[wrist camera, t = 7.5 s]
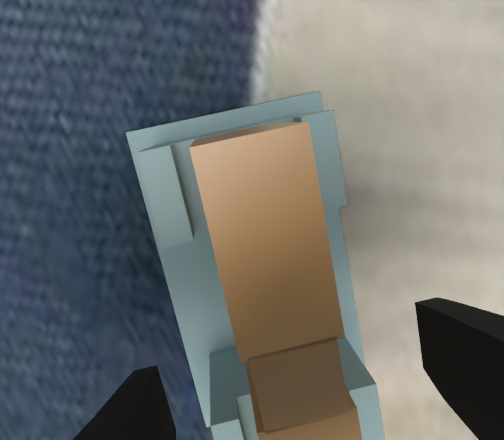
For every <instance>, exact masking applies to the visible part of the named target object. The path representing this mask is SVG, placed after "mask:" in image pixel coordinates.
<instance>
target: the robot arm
mask: <svg viewBox="0 0 504 440" xmlns="http://www.w3.org/2000/svg"><path fill="white" fill-rule="evenodd" d="M415 306H416V313H417V321H418V329H419V337H420V345H421V353H422V361H423V368H424V370H425V371H426V373H427V374H428V376H429V377H430V379H431V381H432V382H433V384H434V385H435V387H436V388H437V390H438V391H439V393H440V394H441V396H442V397H443V398H444V400H445V401H446V402H447V403H448V404H449V406H450V407H451V408H452V409H453V410H454V411H455V413H456V414H457V415H458V416H459V417H460V419H461V420H462V421H463V422H464V423H465V424H466V425H467V427H468V428H469V429H470V430H471V431H472V432H473V433H474V435H475V436H476V437H477V438H478V439H479V440H504V316H502V315H498V314H495V313H492V312H488V311H485V310H482V309H478V308H475V307H472V306H468V305H465V304H461V303H458V302H454V301H451V300H447V299H442V298H432V299H428V300H424V301H420V302H416V303H415ZM73 440H176V429H175V425H174V422H173V418H172V415H171V412H170V408H169V405H168V401H167V398H166V395H165V391H164V388H163V384H162V381H161V378H160V374H159V371H158V368H157V365H156V366H152V367H148V368H143V369H139V370H135V371H134V372H133V373H132V374H131V375H130V376H129V377H128V378H127V379H126V380H125V381H124V382H123V384H122V385H121V386H120V387H119V388H118V390H117V391H116V392H115V393H114V394H113V395H112V397H111V398H110V399H109V400H108V401H107V402H106V404H105V405H104V406H103V407H102V408H101V409H100V411H99V412H98V413H97V414H96V415H95V416H94V418H93V419H92V420H91V421H90V422H89V423H88V424H87V425H86V426H85V427H84V428H83V429H82V430H81V431H80V432H79V434H78V435H77V436H76V437H75V438H74V439H73Z"/></svg>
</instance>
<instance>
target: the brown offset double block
mask: <svg viewBox="0 0 504 440" xmlns="http://www.w3.org/2000/svg"><path fill="white" fill-rule="evenodd" d="M189 149H190V153H191V158H192V162H193V166H194V170H195V174H196V179H197V183H198V187H199V191H200V195H201V200H202V204H203V208H204V212H205V217H206V221H207V225H208V229H209V233H210V238H211V242H212V246H213V250H214V254H215V259H216V263H217V267H218V271H219V275H220V280H221V284H222V288H223V292H224V297H225V301H226V305H227V309H228V313H229V318H230V322H231V326H232V330H233V334H234V339H235V343H236V347H237V351H238V356H239V360H240V363H244V362H245V364H246V370H247V376H248V382H249V388H250V394H251V400H252V406H253V412H254V418H255V424H256V431H257V436H258V440H362V435H361V429H360V423H359V417H358V411H357V407H356V405H355V403H354V401H353V399H352V398H351V396H350V394H349V392H348V390H347V388H346V386H345V382H344V376H343V370H342V364H341V359H340V353H339V347H338V341H337V340H338V339H343V338H345V334H344V328H343V322H342V316H341V310H340V304H339V298H338V292H337V286H336V281H335V275H334V269H333V263H332V257H331V251H330V245H329V239H328V233H327V227H326V221H325V215H324V209H323V204H322V198H321V192H320V186H319V180H318V174H317V168H316V162H315V156H314V150H313V144H312V138H311V132H310V126H309V122H275V123H269V124H264V125H259V126H254V127H250V128H245V129H240V130H236V131H231V132H226V133H222V134H217V135H212V136H207V137H203V138H198V139H195V140H194V141H193V143H192V144H191V146H190V147H189Z"/></svg>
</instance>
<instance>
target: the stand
mask: <svg viewBox="0 0 504 440" xmlns="http://www.w3.org/2000/svg"><path fill="white" fill-rule="evenodd" d="M275 122H309V126H310V132H311V138H312V144H313V150H314V156H315V162H316V168H317V174H318V180H319V186H320V192H321V198H322V204H323V209H324V215H325V221H326V227H327V233H328V239H329V245H330V251H331V257H332V263H333V269H334V275H335V281H336V286H337V292H338V298H339V304H340V310H341V316H342V322H343V328H344V334H345V338H343V339H338V340H337V341H338V347H339V353H340V359H341V364H342V370H343V376H344V382H345V386H346V388H347V390H348V392H349V394H350V396H351V398H352V399H353V401H354V403H355V405H356V407H357V411H358V417H359V423H360V429H361V435H362V440H385V436H384V430H383V424H382V417H381V411H380V405H379V398H378V392H377V386H376V383H375V381H374V380H373V378H372V377H371V375H370V374H369V372H368V371H367V369H366V368H365V363H364V357H363V351H362V345H361V339H360V333H359V327H358V321H357V314H356V308H355V302H354V296H353V290H352V284H351V278H350V272H349V265H348V259H347V253H346V247H345V241H344V235H343V229H342V223H341V216H340V210H339V207H343V206H347V205H348V202H347V196H346V189H345V183H344V177H343V170H342V164H341V158H340V151H339V145H338V139H337V132H336V126H335V120H334V113H333V110H328V111H323V106H322V100H321V94H320V91H318V92H314V93H309V94H304V95H300V96H295V97H290V98H286V99H281V100H276V101H272V102H267V103H262V104H257V105H253V106H248V107H243V108H239V109H234V110H229V111H225V112H220V113H215V114H211V115H206V116H201V117H197V118H192V119H187V120H183V121H178V122H173V123H169V124H164V125H159V126H155V127H150V128H145V129H141V130H136V131H131V132H126V135H127V139H128V143H129V146H130V150H131V154H132V157H133V161H134V165H135V168H136V172H137V176H138V179H139V183H140V186H141V190H142V194H143V197H144V201H145V205H146V208H147V212H148V216H149V219H150V223H151V227H152V230H153V234H154V238H155V241H156V245H157V249H158V252H159V256H160V259H161V263H162V267H163V270H164V274H165V278H166V281H167V285H168V289H169V292H170V296H171V300H172V303H173V307H174V311H175V314H176V318H177V322H178V325H179V329H180V333H181V336H182V340H183V343H184V347H185V351H186V354H187V358H188V362H189V365H190V369H191V373H192V376H193V380H194V384H195V387H196V391H197V395H198V398H199V402H200V406H201V409H202V413H203V416H204V420H205V424H206V427H210V426H211V430H212V434H213V437H214V440H258V436H257V431H256V424H255V418H254V412H253V406H252V400H251V394H250V388H249V382H248V376H247V370H246V364H245V362H244V363H240V360H239V356H238V351H237V347H236V343H235V339H234V334H233V330H232V326H231V322H230V318H229V313H228V309H227V305H226V301H225V297H224V292H223V288H222V284H221V280H220V275H219V271H218V267H217V263H216V259H215V254H214V250H213V246H212V242H211V238H210V233H209V229H208V225H207V221H206V217H205V212H204V208H203V204H202V200H201V195H200V191H199V187H198V183H197V179H196V174H195V170H194V166H193V162H192V158H191V153H190V149H189V147H190V146H191V144H192V143H193V141H194V140H195V139H198V138H203V137H207V136H212V135H217V134H222V133H226V132H231V131H236V130H240V129H245V128H250V127H254V126H259V125H264V124H269V123H275Z"/></svg>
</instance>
